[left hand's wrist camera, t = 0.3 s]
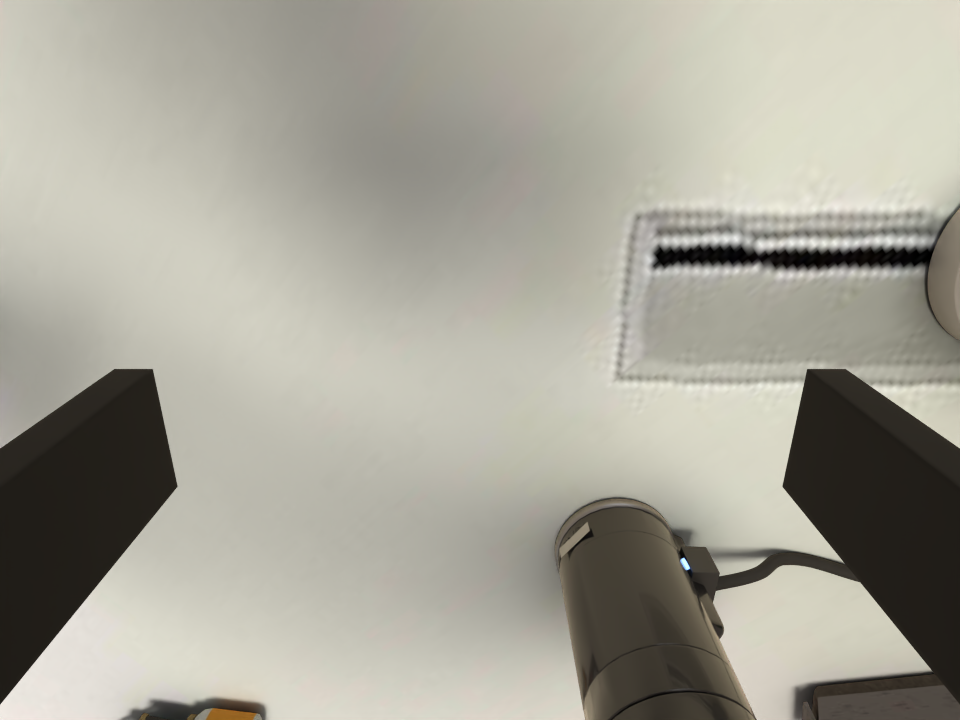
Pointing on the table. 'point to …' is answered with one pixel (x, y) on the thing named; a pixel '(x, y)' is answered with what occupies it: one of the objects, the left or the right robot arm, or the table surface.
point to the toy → (884, 700)
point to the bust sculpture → (946, 278)
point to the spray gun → (214, 715)
